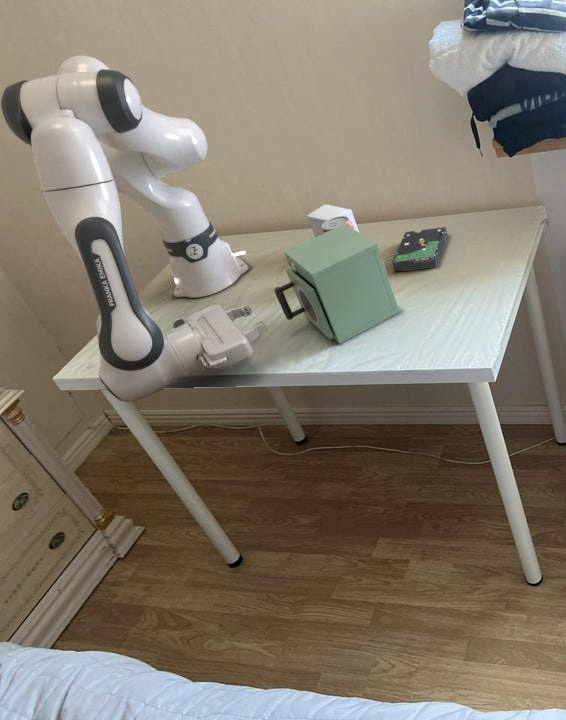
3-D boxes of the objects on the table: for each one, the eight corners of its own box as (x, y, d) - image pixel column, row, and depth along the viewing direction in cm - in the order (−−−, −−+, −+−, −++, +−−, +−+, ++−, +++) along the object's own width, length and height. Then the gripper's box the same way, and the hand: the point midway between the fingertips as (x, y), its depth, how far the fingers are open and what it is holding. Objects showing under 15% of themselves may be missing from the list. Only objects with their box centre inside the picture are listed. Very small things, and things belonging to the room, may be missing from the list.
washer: (338, 344, 138) (310, 275, 129) (309, 318, 149) (282, 252, 140) (399, 312, 143) (377, 243, 134) (367, 288, 154) (344, 223, 145)
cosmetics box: (319, 253, 174) (305, 215, 168) (338, 241, 178) (325, 203, 172) (346, 260, 168) (332, 220, 162) (365, 247, 172) (352, 208, 165)
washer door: (311, 349, 136) (290, 301, 130) (287, 324, 146) (267, 279, 139) (333, 337, 138) (314, 289, 131) (309, 314, 148) (289, 268, 141)
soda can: (363, 279, 158) (344, 228, 151) (334, 282, 160) (314, 231, 153) (372, 263, 164) (355, 213, 156) (344, 266, 166) (326, 216, 158)
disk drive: (407, 242, 169) (394, 272, 158) (404, 231, 168) (390, 262, 156) (448, 236, 167) (438, 267, 155) (446, 226, 165) (435, 256, 154)
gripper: (198, 357, 125) (268, 322, 130) (172, 317, 140) (236, 287, 145) (213, 384, 129) (281, 349, 134) (186, 342, 144) (248, 312, 149)
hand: (257, 316), depth 140 cm, fingers open, 8 cm apart
